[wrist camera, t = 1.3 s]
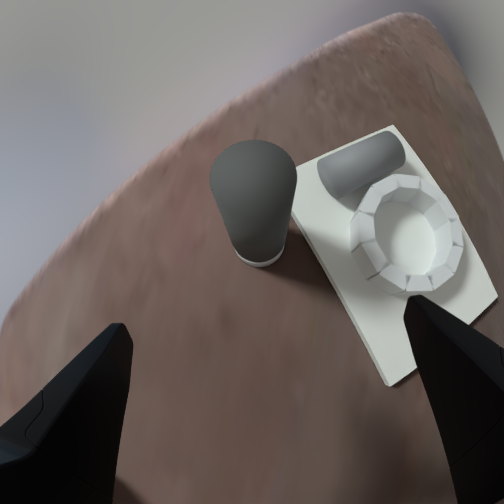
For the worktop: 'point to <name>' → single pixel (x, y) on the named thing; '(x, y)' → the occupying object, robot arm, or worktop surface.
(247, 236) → the crank handle
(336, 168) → the white socket base plate
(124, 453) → the worktop surface
